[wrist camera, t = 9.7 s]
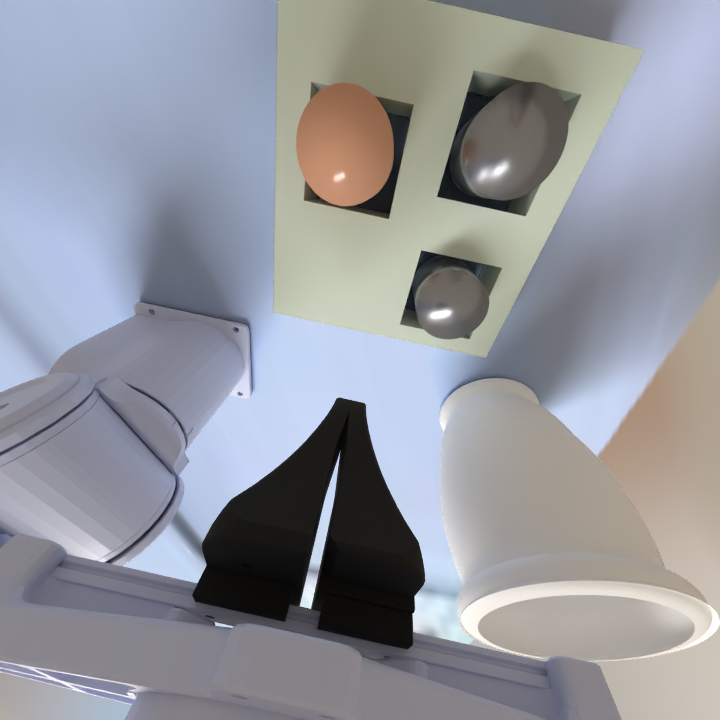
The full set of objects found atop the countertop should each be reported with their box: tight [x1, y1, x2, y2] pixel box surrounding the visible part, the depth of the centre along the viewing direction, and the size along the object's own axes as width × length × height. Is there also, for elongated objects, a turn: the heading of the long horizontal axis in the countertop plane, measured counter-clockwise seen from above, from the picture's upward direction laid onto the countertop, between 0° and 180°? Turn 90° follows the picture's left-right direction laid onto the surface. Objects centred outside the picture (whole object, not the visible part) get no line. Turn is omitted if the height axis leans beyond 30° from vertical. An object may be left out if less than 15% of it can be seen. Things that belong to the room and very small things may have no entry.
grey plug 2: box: [449, 82, 569, 200], centre depth 14 cm, size 4×4×4 cm
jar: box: [440, 378, 720, 661], centre depth 19 cm, size 11×10×15 cm
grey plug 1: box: [412, 255, 489, 339], centre depth 18 cm, size 4×4×4 cm
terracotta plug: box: [296, 83, 394, 206], centre depth 13 cm, size 4×4×4 cm
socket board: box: [273, 0, 644, 358], centre depth 16 cm, size 15×15×3 cm
